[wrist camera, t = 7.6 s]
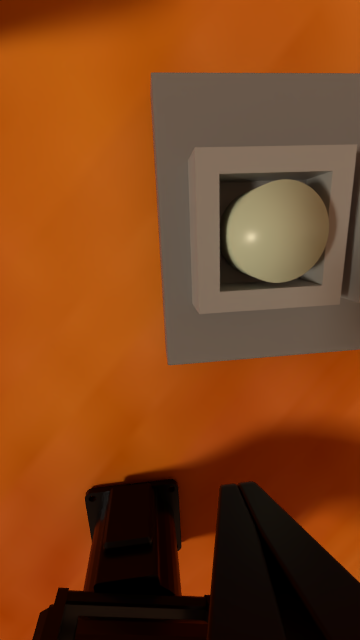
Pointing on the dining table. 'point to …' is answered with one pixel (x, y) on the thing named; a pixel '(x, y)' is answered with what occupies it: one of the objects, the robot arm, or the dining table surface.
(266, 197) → the button sage
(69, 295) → the dining table surface
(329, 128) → the panel
